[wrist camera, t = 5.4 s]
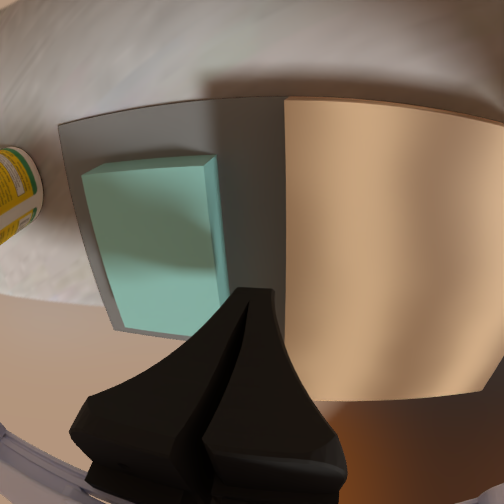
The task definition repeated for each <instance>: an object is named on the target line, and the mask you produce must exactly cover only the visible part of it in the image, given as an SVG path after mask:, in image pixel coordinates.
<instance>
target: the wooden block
mask: <svg viewBox="0 0 504 504" xmlns="http://www.w3.org/2000/svg"><path fill="white" fill-rule="evenodd" d="M284 113H285V155H286V303H285V347H286V350H287V352H288V355H289V357H290V360H291V362H292V364H293V366H294V369H295V371H296V373H297V375H298V377H299V379H300V381H301V382H302V384H303V386H304V388H305V389H306V391H307V393H308V394H309V396H310V398H311V399H312V400H316V401H376V400H398V399H413V398H426V397H436V396H445V395H454V394H461V393H469V392H476V391H481V390H482V389H483V388H484V386H485V384H486V383H487V382H488V380H489V378H490V377H491V375H492V374H493V372H494V371H495V369H496V367H497V366H498V364H499V362H500V361H501V359H502V357H503V356H504V123H501V122H497V121H493V120H489V119H485V118H481V117H477V116H472V115H467V114H463V113H458V112H453V111H447V110H442V109H436V108H430V107H424V106H417V105H410V104H402V103H394V102H385V101H376V100H364V99H351V98H334V97H301V96H290V97H288V98H287V99H285V100H284Z"/></svg>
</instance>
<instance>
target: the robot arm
mask: <svg viewBox="0 0 504 504" xmlns="http://www.w3.org/2000/svg"><path fill="white" fill-rule="evenodd" d="M69 434H70V436H71V439H72V440H73V441H74V443H76V445H77V446H78V447H79V448H80V449H81V450H82V451H83V452H84V453H85V454H86V455H87V456H88V457H89V458H90V459H91V460H92V461H93V462H92V464H91V467H90V469H89V471H88V472H86V471H83V470H81V469H79V468H76V467H74V466H72V465H70V464H68V463H66V462H64V461H61V460H59V459H57V458H55V457H53V456H51V455H49V454H48V453H46V452H44V451H42V450H40V449H38V448H36V447H35V446H33V445H31V444H29V443H27V442H26V441H24V440H22V439H20V438H19V437H17V436H16V435H14V434H12V433H11V432H9V431H7V430H6V428H5V427H4V426H3V425H2V424H1V423H0V494H2V495H3V496H4V497H5V498H7V499H8V500H9V501H10V502H12V503H13V504H105V503H103V502H101V501H99V500H97V499H95V498H93V497H91V496H89V494H90V495H92V496H94V497H96V498H99V499H101V500H104V501H106V502H109V503H111V504H338V502H339V490H340V489H341V487H342V486H343V484H344V483H345V481H346V479H347V465H346V460H345V456H344V453H343V450H342V447H341V444H340V441H339V438H338V436H337V434H336V433H335V431H334V430H333V429H332V428H331V426H330V425H329V424H328V422H327V421H326V420H325V418H324V417H323V416H322V414H321V413H320V411H319V410H318V409H317V407H316V406H315V404H314V403H313V401H312V399H311V398H310V396H309V394H308V393H307V391H306V389H305V388H304V386H303V384H302V382H301V381H300V379H299V377H298V375H297V373H296V371H295V369H294V366H293V364H292V362H291V360H290V357H289V355H288V352H287V350H286V347H285V344H284V341H283V339H282V335H281V332H280V328H279V324H278V321H277V316H276V310H275V291H274V290H273V289H271V288H251V287H237V288H236V289H235V290H234V291H233V292H232V293H231V295H230V296H229V297H228V298H227V300H226V301H225V302H224V303H223V304H222V305H221V307H220V308H219V309H218V310H217V311H216V312H215V313H214V314H213V315H212V317H211V318H210V319H209V320H208V321H207V322H206V323H205V324H204V325H203V326H202V327H201V328H200V329H199V330H198V331H197V332H196V333H195V334H194V335H193V336H191V337H190V338H189V339H188V340H187V341H186V342H185V343H184V344H183V345H181V346H180V347H179V348H178V349H176V350H175V351H174V352H172V353H171V354H170V355H168V356H167V357H166V358H164V359H163V360H161V361H160V362H158V363H157V364H155V365H154V366H152V367H151V368H149V369H147V370H146V371H144V372H142V373H141V374H139V375H137V376H135V377H133V378H131V379H129V380H127V381H125V382H123V383H121V384H119V385H117V386H115V387H112V388H110V389H107V390H105V391H102V392H100V393H98V394H95V395H92V396H89V397H88V398H87V400H86V401H85V403H84V404H83V406H82V408H81V410H80V411H79V413H78V415H77V417H76V419H75V421H74V423H73V424H72V426H71V428H70V430H69ZM456 504H504V483H503V484H500V485H498V486H495V487H493V488H491V489H489V490H487V491H486V492H484V493H482V494H481V495H480V496H479V497H478V498H475V499H471V500H467V501H464V502H460V503H456Z"/></svg>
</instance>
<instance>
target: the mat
mask: <svg viewBox="0 0 504 504" xmlns="http://www.w3.org/2000/svg"><path fill="white" fill-rule="evenodd" d="M288 97H290V96H277V97H244V98H227V99H213V100H202V101H192V102H183V103H174V104H166V105H159V106H152V107H146V108H139V109H133V110H128V111H122V112H117V113H112V114H107V115H102V116H97V117H92V118H88V119H83V120H79V121H75V122H71V123H67V124H63V125H60V126H58V129H59V136H60V142H61V148H62V153H63V159H64V164H65V169H66V174H67V179H68V183H69V188H70V192H71V197H72V201H73V205H74V209H75V213H76V217H77V221H78V224H79V228H80V232H81V235H82V239H83V242H84V246H85V249H86V252H87V256H88V259H89V262H90V265H91V268H92V271H93V274H94V277H95V280H96V283H97V286H98V289H99V292H100V295H101V297H102V300H103V303H104V306H105V308H106V311H107V313H108V316H109V318H110V321H111V324H112V326H113V329H114V330H117V331H123V332H129V333H135V334H142V335H148V336H155V337H162V338H169V339H176V340H185V341H187V340H188V339H189V338H190V337H191V336H185V335H176V334H169V333H161V332H154V331H147V330H140V329H133V328H127V327H125V326H124V323H123V320H122V318H121V315H120V312H119V309H118V307H117V304H116V301H115V298H114V295H113V292H112V289H111V286H110V283H109V280H108V277H107V274H106V270H105V267H104V264H103V260H102V257H101V254H100V250H99V247H98V243H97V240H96V236H95V232H94V228H93V224H92V221H91V217H90V213H89V208H88V204H87V200H86V195H85V191H84V186H83V182H82V177H81V175H83V174H85V173H87V172H89V171H90V170H92V169H94V168H96V167H98V166H100V165H102V164H104V163H112V162H121V161H130V160H140V159H152V158H164V157H178V156H194V155H216V154H217V164H218V176H219V187H220V199H221V210H222V220H223V231H224V241H225V251H226V261H227V271H228V280H229V290H230V295H231V293H232V292H233V291H234V290H235V289H236V288H237V287H251V288H271V289H273V290H274V291H275V310H276V316H277V321H278V324H279V328H280V332H281V335H282V339H283V341H284V344H285V303H286V155H285V113H284V100H285V99H287V98H288Z"/></svg>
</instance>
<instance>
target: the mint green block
mask: <svg viewBox="0 0 504 504" xmlns="http://www.w3.org/2000/svg"><path fill="white" fill-rule="evenodd" d="M81 177H82V182H83V186H84V191H85V195H86V200H87V204H88V208H89V213H90V217H91V221H92V224H93V228H94V232H95V236H96V240H97V243H98V247H99V250H100V254H101V257H102V260H103V264H104V267H105V270H106V274H107V277H108V280H109V283H110V286H111V289H112V292H113V295H114V298H115V301H116V304H117V307H118V309H119V312H120V315H121V318H122V320H123V323H124V326H125V327H127V328H133V329H140V330H147V331H154V332H161V333H169V334H176V335H185V336H193V335H194V334H195V333H196V332H197V331H198V330H199V329H200V328H201V327H202V326H203V325H204V324H205V323H206V322H207V321H208V320H209V319H210V318H211V317H212V315H213V314H214V313H215V312H216V311H217V310H218V309H219V308H220V307H221V305H222V304H223V303H224V302H225V301H226V300H227V298H228V297H229V296H230V290H229V280H228V271H227V261H226V251H225V241H224V231H223V220H222V210H221V199H220V187H219V176H218V164H217V154H216V155H194V156H178V157H164V158H152V159H140V160H130V161H121V162H112V163H104V164H102V165H100V166H98V167H96V168H94V169H92V170H90V171H89V172H87V173H85V174H83V175H81Z"/></svg>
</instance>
